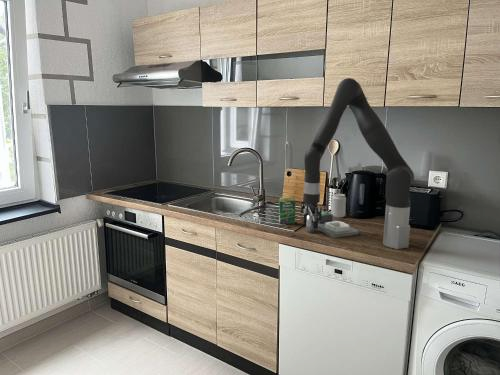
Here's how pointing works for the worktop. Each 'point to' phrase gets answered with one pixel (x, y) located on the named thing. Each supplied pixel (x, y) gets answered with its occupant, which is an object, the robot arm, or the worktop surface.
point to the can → (338, 205)
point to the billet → (309, 224)
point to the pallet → (334, 227)
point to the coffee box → (287, 210)
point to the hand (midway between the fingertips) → (310, 225)
